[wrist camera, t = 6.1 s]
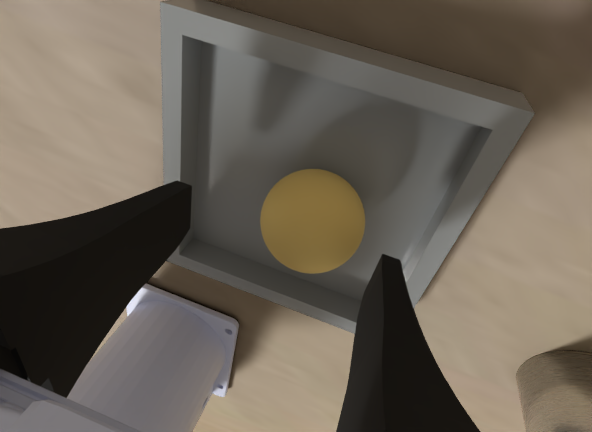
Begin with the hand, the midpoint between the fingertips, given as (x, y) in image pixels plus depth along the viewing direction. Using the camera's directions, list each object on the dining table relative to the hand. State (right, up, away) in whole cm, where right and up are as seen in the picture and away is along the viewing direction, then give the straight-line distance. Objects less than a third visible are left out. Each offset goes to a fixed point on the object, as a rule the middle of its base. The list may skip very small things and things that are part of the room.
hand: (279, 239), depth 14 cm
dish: (+1, +2, +3) cm, 4 cm away
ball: (+1, +1, +1) cm, 2 cm away
